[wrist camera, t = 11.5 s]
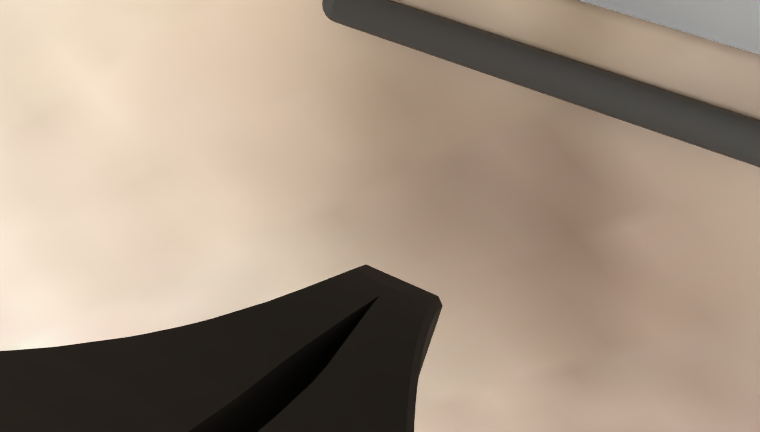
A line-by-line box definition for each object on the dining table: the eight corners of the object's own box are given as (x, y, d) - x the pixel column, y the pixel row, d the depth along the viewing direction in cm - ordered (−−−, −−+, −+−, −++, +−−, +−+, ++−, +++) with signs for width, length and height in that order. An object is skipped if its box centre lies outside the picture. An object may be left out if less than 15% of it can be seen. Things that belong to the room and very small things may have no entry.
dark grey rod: (1236, 271, 14) (1271, 293, 13) (1198, 310, 15) (1231, 334, 14) (336, -21, 19) (319, -19, 18) (328, 14, 20) (312, 18, 19)
